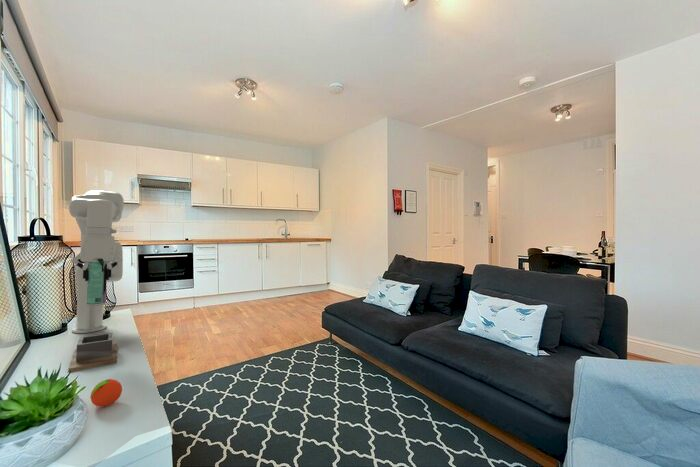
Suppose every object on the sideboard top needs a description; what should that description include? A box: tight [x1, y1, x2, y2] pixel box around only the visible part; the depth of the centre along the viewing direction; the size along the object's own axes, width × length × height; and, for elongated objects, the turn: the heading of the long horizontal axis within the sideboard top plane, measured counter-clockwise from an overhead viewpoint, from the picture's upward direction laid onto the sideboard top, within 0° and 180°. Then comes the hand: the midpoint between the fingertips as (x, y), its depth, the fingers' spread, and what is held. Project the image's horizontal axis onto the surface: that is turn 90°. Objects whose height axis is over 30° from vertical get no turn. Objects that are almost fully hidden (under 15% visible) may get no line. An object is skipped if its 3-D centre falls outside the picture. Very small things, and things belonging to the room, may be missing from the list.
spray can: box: [87, 258, 107, 306], centre depth 115 cm, size 6×6×20 cm
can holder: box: [67, 332, 118, 373], centre depth 115 cm, size 20×13×7 cm, turn 37°
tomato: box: [90, 378, 123, 408], centre depth 84 cm, size 8×7×7 cm
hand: (97, 279), depth 115 cm, fingers closed on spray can, 5 cm apart
